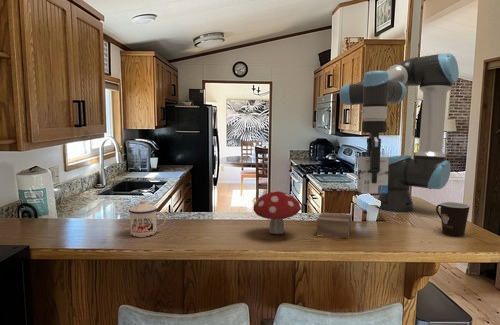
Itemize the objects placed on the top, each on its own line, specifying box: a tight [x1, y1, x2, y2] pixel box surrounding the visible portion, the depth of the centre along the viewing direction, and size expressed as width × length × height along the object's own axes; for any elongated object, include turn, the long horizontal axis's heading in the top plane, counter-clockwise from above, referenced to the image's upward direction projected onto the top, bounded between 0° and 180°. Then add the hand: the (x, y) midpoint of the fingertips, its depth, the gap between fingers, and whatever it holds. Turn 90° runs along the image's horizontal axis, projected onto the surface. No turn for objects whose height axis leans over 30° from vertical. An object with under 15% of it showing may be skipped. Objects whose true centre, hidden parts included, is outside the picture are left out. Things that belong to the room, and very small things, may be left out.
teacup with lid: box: [128, 199, 167, 235], centre depth 123 cm, size 12×9×12 cm
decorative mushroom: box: [253, 190, 302, 235], centre depth 121 cm, size 16×16×15 cm
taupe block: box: [316, 211, 352, 239], centre depth 123 cm, size 10×10×6 cm
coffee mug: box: [435, 201, 470, 238], centre depth 123 cm, size 12×9×10 cm
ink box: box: [357, 156, 389, 195], centre depth 119 cm, size 8×5×12 cm, turn 91°
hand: (372, 191), depth 119 cm, fingers closed on ink box, 6 cm apart
